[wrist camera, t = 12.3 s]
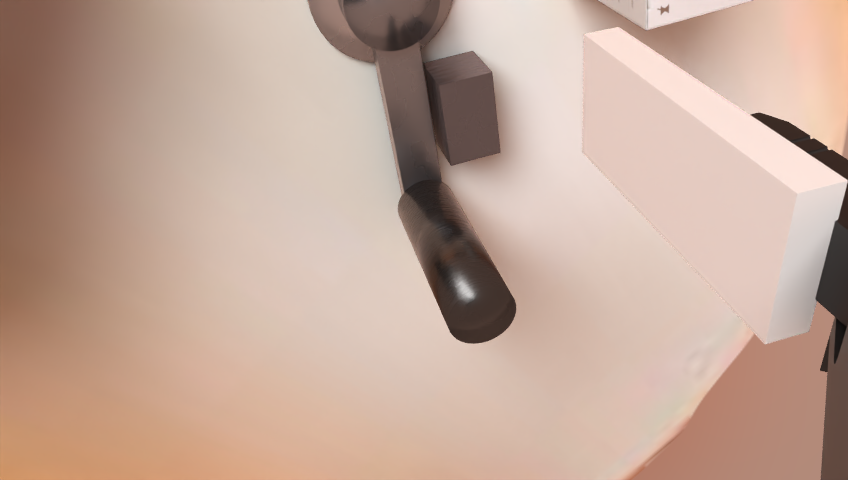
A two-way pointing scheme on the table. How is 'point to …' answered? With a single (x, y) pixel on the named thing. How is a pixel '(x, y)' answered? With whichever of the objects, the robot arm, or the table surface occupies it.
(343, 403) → the table surface
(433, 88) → the lever
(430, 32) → the pivot disc
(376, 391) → the table surface
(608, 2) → the small box
